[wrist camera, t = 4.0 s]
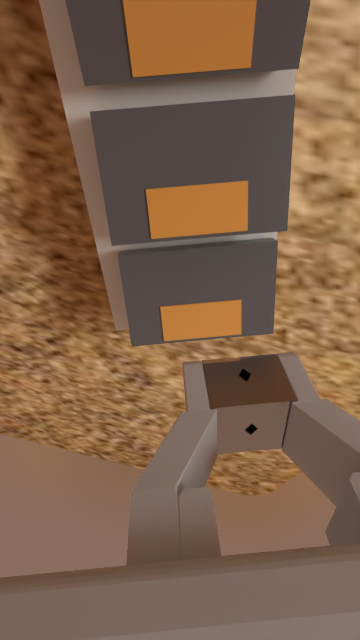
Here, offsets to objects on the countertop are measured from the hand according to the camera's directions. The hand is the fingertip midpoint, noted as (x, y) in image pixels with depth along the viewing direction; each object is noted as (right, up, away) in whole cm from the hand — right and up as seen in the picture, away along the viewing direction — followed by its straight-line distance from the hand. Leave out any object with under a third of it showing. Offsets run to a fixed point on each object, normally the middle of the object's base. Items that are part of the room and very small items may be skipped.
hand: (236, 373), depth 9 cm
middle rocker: (-1, +9, +8) cm, 11 cm away
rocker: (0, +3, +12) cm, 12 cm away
